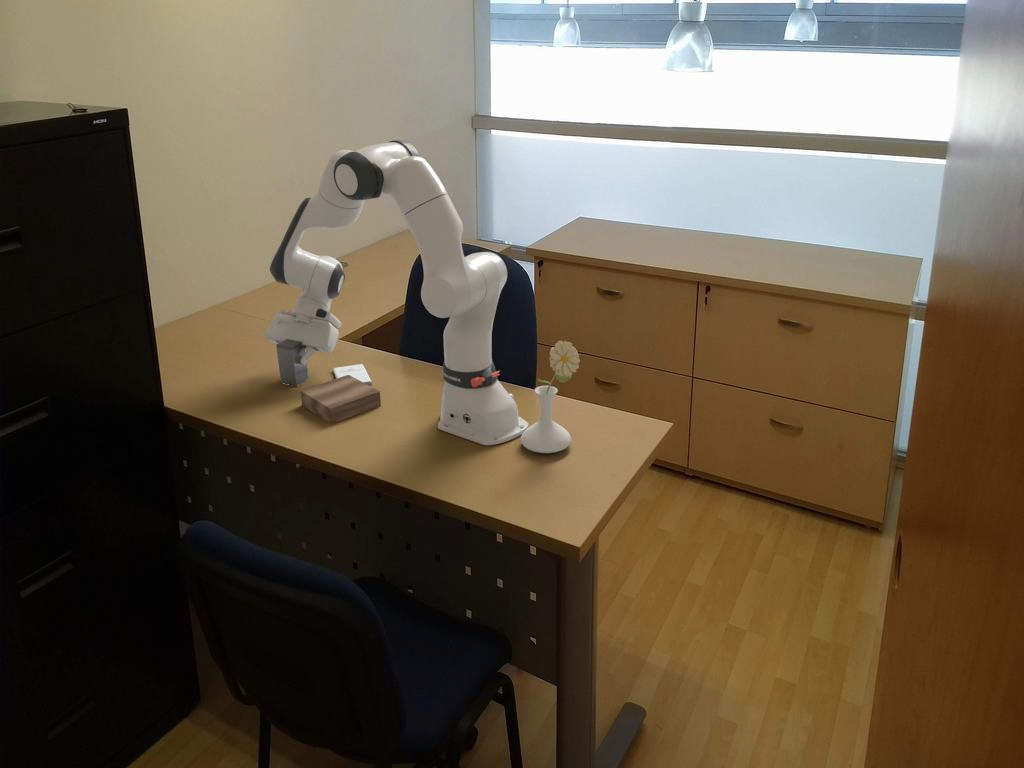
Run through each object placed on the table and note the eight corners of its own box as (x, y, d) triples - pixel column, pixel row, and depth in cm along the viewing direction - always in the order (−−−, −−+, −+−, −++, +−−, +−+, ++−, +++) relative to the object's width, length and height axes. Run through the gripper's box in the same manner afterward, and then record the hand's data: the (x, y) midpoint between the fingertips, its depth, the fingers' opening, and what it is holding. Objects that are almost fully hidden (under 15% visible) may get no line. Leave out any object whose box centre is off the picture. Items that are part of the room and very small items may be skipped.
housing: (308, 379, 228) (303, 340, 223) (296, 386, 224) (291, 347, 219) (293, 376, 230) (288, 338, 225) (281, 383, 226) (276, 344, 221)
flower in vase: (529, 461, 187) (529, 355, 177) (514, 437, 197) (513, 336, 187) (585, 452, 191) (588, 348, 180) (567, 429, 200) (569, 329, 190)
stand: (380, 405, 213) (379, 391, 211) (332, 423, 204) (330, 408, 203) (349, 388, 222) (348, 374, 221) (301, 405, 214) (300, 390, 212)
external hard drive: (340, 391, 222) (333, 373, 233) (372, 386, 225) (363, 368, 235) (340, 385, 222) (332, 367, 232) (371, 380, 224) (362, 363, 235)
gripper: (271, 304, 229) (252, 350, 225) (335, 314, 221) (316, 362, 217) (284, 314, 235) (265, 360, 231) (347, 324, 227) (328, 372, 223)
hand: (290, 361), depth 224 cm, fingers closed on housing, 5 cm apart
